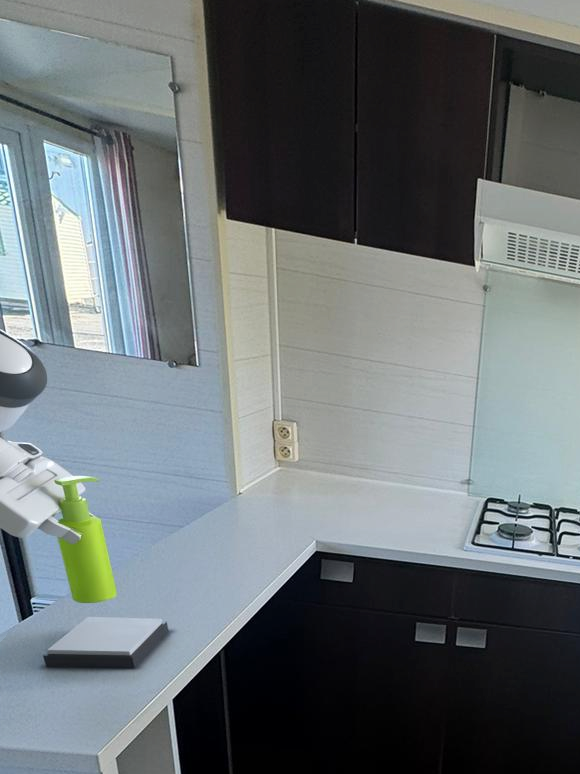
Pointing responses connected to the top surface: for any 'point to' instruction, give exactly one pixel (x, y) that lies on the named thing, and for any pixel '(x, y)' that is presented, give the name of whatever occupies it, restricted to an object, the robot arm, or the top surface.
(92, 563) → the soap dispenser
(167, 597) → the top surface
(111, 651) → the kitchen scale
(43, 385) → the robot arm
